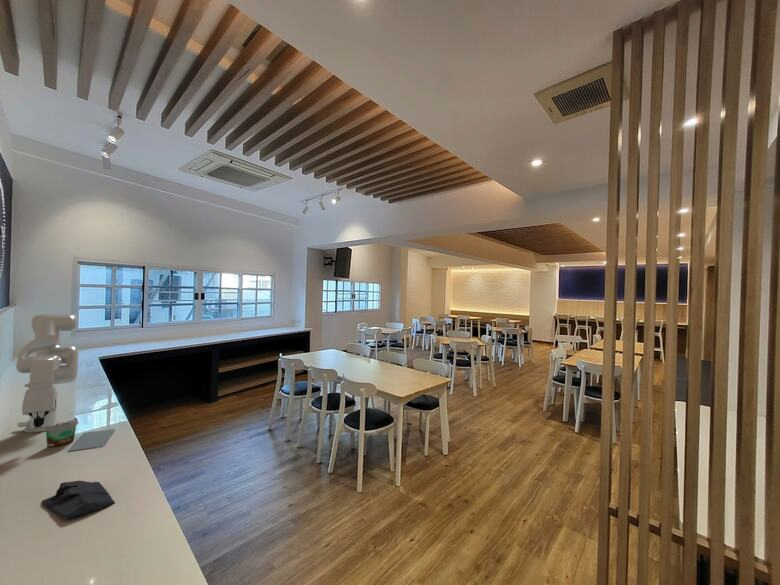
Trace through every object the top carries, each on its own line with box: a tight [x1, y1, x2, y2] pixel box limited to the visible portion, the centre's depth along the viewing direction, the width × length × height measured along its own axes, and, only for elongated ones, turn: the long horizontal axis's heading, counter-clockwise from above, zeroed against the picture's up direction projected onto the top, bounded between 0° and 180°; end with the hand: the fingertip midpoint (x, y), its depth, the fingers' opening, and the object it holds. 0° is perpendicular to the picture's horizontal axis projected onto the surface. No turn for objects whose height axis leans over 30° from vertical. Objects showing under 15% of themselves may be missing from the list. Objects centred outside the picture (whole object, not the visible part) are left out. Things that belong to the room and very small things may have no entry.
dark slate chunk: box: [41, 480, 116, 520], centre depth 111 cm, size 15×22×5 cm
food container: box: [43, 417, 79, 449], centre depth 152 cm, size 12×6×10 cm, turn 168°
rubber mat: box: [67, 428, 116, 453], centre depth 157 cm, size 12×22×1 cm, turn 30°
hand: (38, 426), depth 147 cm, fingers closed
